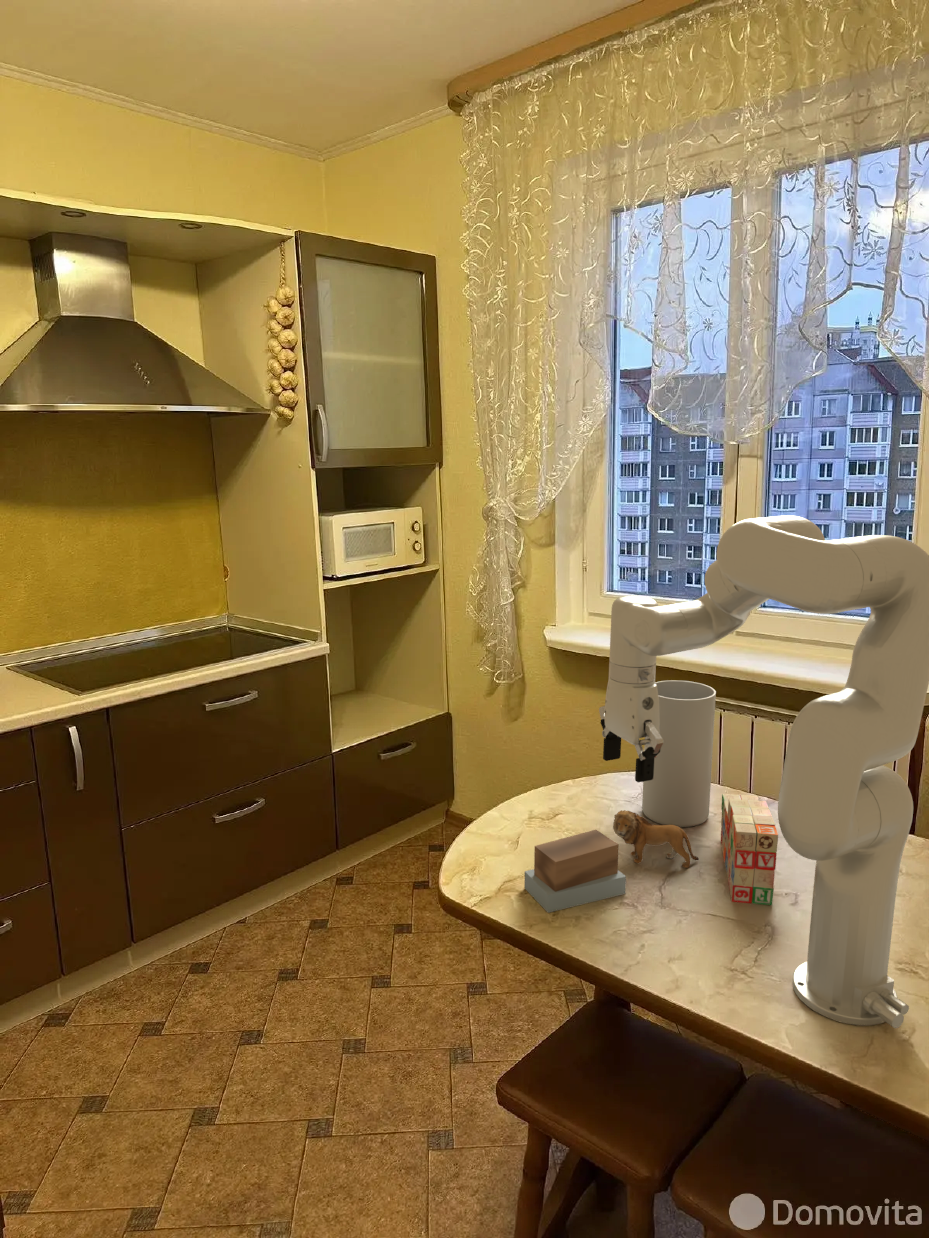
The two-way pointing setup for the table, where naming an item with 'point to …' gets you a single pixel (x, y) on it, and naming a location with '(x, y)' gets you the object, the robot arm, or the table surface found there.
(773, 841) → the stack of blocks
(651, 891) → the table surface
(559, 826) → the table surface
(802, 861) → the table surface
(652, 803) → the cylinder vase
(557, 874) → the walnut brick
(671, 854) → the lion figurine
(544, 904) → the base slab
